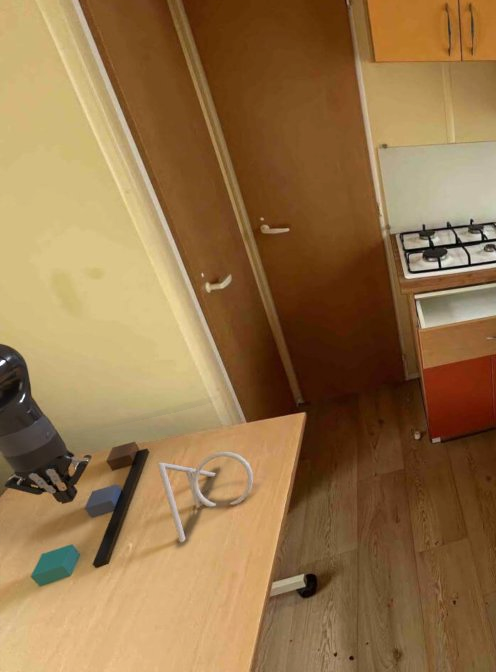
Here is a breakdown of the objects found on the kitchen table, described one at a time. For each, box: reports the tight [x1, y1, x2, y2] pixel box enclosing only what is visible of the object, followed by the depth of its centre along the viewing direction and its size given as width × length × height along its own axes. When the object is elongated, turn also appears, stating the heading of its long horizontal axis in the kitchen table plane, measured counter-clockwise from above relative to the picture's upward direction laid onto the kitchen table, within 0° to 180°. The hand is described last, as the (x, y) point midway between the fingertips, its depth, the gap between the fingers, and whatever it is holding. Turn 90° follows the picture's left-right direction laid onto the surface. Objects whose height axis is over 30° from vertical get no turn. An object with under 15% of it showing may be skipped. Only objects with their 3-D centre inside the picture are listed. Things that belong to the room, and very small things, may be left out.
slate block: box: [84, 483, 122, 519], centre depth 93 cm, size 4×4×4 cm
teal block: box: [30, 543, 81, 587], centre depth 81 cm, size 4×4×4 cm
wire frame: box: [157, 451, 254, 543], centre depth 95 cm, size 18×13×16 cm
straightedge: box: [92, 448, 150, 569], centre depth 94 cm, size 2×30×2 cm, turn 25°
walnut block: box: [106, 441, 141, 472], centre depth 104 cm, size 4×4×4 cm
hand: (69, 499), depth 89 cm, fingers closed
